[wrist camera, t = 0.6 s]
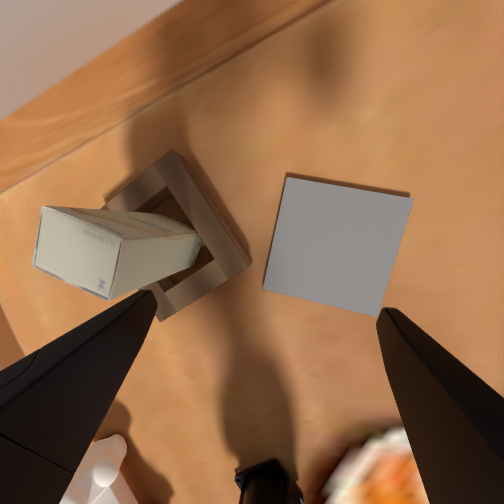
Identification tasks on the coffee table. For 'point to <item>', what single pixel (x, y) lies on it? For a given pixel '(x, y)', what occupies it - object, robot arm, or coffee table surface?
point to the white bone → (100, 475)
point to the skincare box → (112, 248)
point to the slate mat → (336, 244)
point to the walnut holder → (202, 218)
